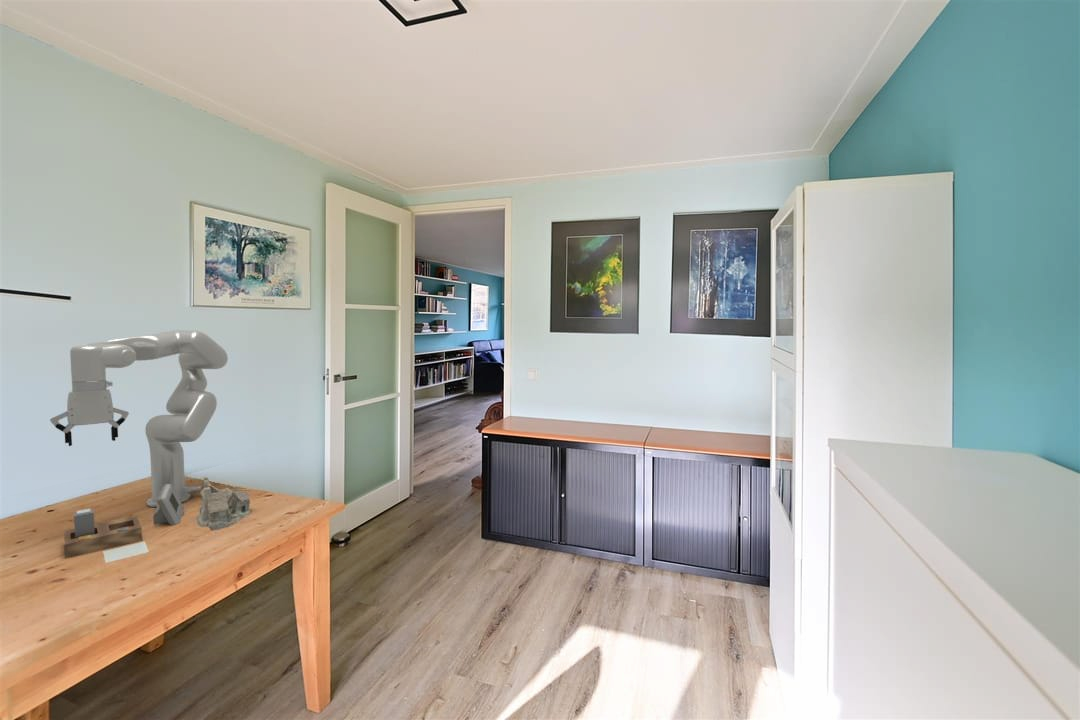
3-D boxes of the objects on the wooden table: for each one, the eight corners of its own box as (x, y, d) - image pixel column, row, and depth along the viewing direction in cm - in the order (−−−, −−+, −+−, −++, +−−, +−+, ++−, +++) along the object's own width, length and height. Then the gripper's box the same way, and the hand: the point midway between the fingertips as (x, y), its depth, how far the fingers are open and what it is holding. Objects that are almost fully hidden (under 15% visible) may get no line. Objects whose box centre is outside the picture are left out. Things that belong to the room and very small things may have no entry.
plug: (94, 542, 139) (93, 507, 138) (95, 546, 136) (93, 511, 135) (75, 546, 136) (73, 510, 135) (75, 551, 133) (73, 515, 132)
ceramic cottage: (194, 533, 148) (196, 484, 148) (195, 517, 161) (197, 473, 161) (253, 525, 157) (255, 479, 157) (249, 511, 170) (251, 468, 170)
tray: (145, 545, 139) (144, 541, 139) (149, 556, 133) (148, 552, 133) (103, 555, 133) (103, 551, 133) (105, 567, 127) (105, 562, 127)
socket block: (137, 531, 149) (136, 514, 148) (142, 544, 140) (141, 526, 140) (65, 547, 137) (64, 529, 137) (65, 562, 129) (64, 543, 128)
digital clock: (178, 529, 151) (177, 496, 150) (143, 533, 148) (141, 499, 147) (194, 510, 166) (193, 480, 165) (162, 513, 163) (161, 483, 162)
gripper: (126, 383, 153) (128, 436, 154) (48, 387, 140) (51, 445, 142) (128, 385, 147) (131, 440, 149) (48, 390, 135) (51, 449, 136)
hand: (92, 442), depth 145 cm, fingers open, 9 cm apart
